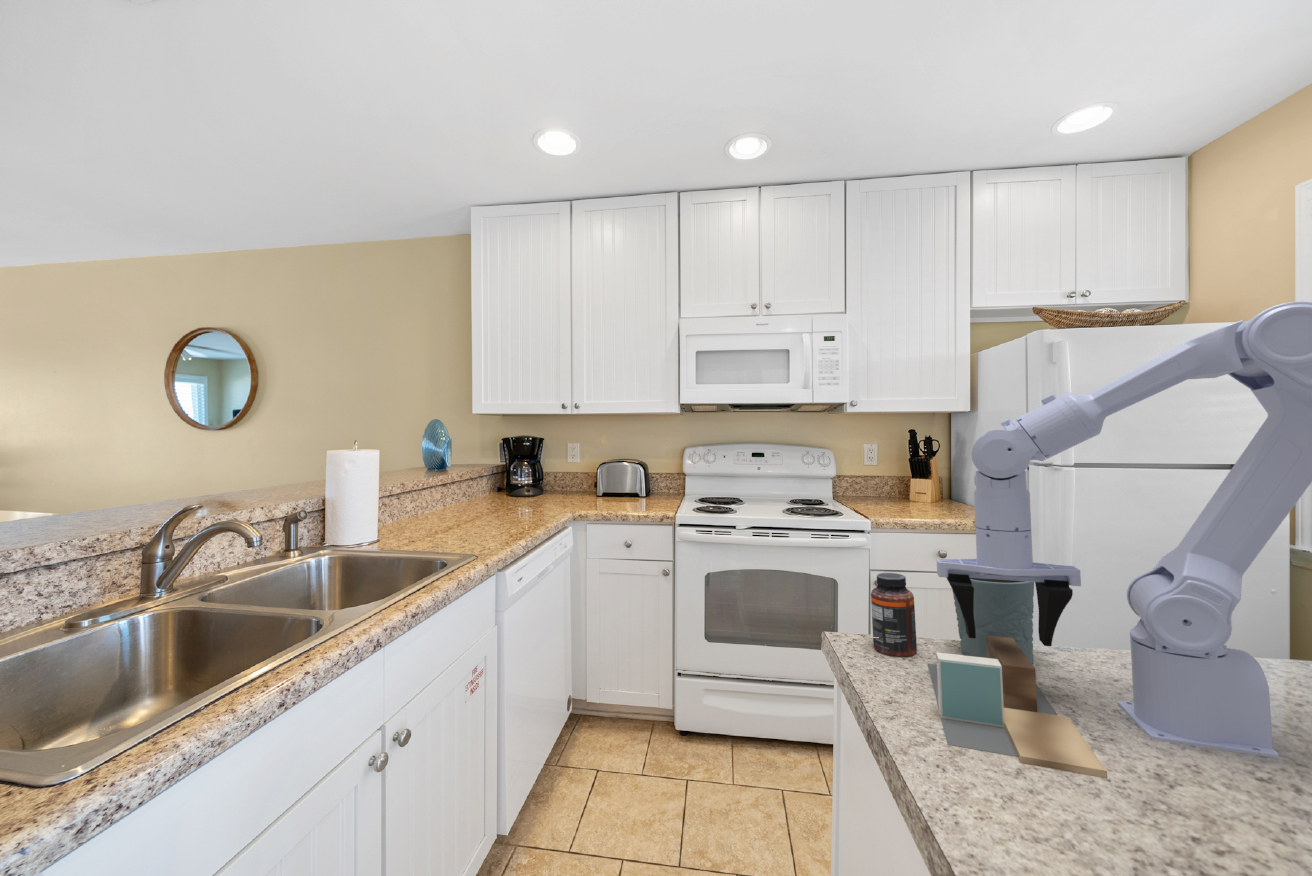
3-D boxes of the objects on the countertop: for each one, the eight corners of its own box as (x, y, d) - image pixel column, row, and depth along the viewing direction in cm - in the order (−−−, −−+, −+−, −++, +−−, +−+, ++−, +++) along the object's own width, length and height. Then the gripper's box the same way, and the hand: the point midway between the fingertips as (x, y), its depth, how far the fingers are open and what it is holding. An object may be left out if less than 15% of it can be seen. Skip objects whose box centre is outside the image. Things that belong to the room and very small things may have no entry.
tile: (1000, 718, 56) (997, 659, 57) (1004, 728, 54) (1002, 666, 55) (938, 709, 59) (936, 652, 59) (941, 718, 57) (938, 659, 57)
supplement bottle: (907, 644, 79) (904, 570, 79) (924, 659, 73) (920, 580, 73) (867, 643, 80) (864, 570, 80) (880, 659, 74) (877, 580, 74)
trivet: (1068, 725, 55) (1067, 716, 55) (1107, 781, 46) (1106, 770, 46) (997, 714, 58) (997, 706, 58) (1020, 765, 49) (1020, 755, 49)
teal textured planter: (1054, 674, 67) (1050, 583, 68) (971, 671, 69) (967, 582, 69) (1014, 645, 77) (1010, 565, 78) (942, 643, 79) (939, 565, 79)
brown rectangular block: (1014, 676, 66) (1012, 637, 67) (1037, 713, 57) (1035, 668, 57) (987, 673, 68) (985, 635, 68) (1005, 709, 58) (1003, 665, 58)
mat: (1031, 678, 67) (1031, 675, 67) (1095, 773, 47) (1095, 769, 47) (927, 665, 71) (927, 663, 71) (947, 747, 52) (947, 744, 52)
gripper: (1064, 525, 64) (1068, 635, 63) (932, 521, 69) (936, 622, 69) (1085, 534, 57) (1091, 656, 57) (938, 529, 63) (943, 640, 63)
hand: (1007, 639), depth 63 cm, fingers open, 7 cm apart
